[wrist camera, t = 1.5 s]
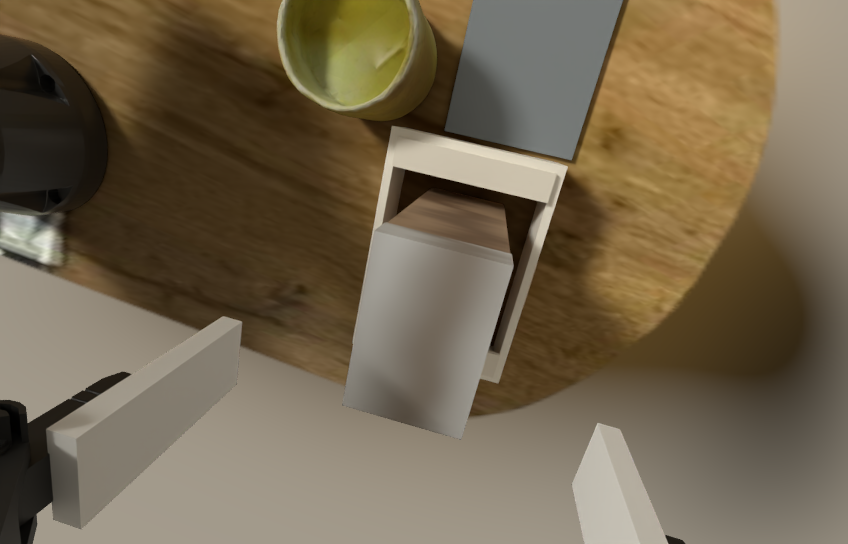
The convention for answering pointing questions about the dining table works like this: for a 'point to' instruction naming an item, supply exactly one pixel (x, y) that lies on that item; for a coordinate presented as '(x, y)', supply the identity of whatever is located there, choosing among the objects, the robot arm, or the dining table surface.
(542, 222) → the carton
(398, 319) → the walnut box
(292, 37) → the mug
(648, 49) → the dining table surface
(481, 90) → the mat
